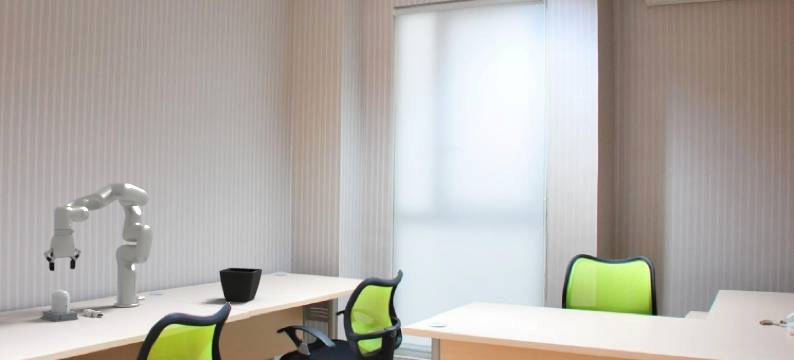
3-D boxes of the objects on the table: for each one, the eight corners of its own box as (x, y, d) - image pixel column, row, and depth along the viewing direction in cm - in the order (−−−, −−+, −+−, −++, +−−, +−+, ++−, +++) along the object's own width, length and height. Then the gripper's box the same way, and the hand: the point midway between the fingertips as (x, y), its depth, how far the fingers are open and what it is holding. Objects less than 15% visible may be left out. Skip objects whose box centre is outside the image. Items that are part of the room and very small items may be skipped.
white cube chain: (90, 313, 349) (90, 308, 349) (103, 317, 341) (103, 312, 341) (82, 314, 346) (82, 309, 346) (95, 318, 338) (95, 313, 338)
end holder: (62, 315, 344) (62, 308, 344) (78, 319, 334) (78, 312, 335) (41, 317, 336) (41, 311, 336) (56, 322, 327) (56, 314, 327)
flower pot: (262, 298, 410) (262, 268, 410) (252, 303, 391) (252, 271, 391) (229, 297, 412) (230, 267, 412) (218, 302, 393) (218, 270, 393)
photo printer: (71, 317, 335) (71, 290, 335) (62, 318, 331) (63, 291, 331) (58, 314, 340) (58, 288, 341) (49, 316, 337) (50, 289, 337)
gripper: (76, 232, 347) (76, 267, 347) (40, 233, 333) (39, 270, 333) (84, 232, 342) (84, 269, 342) (48, 234, 329) (47, 272, 329)
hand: (62, 269), depth 338 cm, fingers open, 9 cm apart
